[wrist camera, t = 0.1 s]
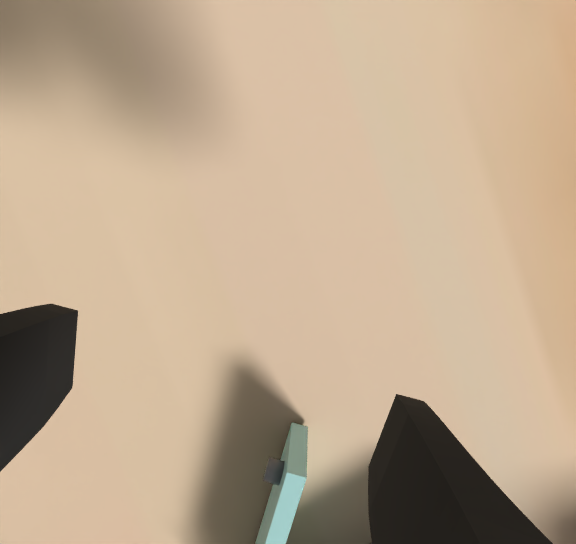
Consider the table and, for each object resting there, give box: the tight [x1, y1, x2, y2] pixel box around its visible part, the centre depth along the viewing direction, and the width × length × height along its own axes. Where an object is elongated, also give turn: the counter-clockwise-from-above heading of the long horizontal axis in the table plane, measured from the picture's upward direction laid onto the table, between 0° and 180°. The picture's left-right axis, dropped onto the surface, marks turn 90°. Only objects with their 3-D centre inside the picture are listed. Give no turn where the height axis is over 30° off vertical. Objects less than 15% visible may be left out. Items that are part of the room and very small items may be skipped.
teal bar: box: [255, 422, 308, 544], centre depth 20 cm, size 10×2×4 cm, turn 165°
